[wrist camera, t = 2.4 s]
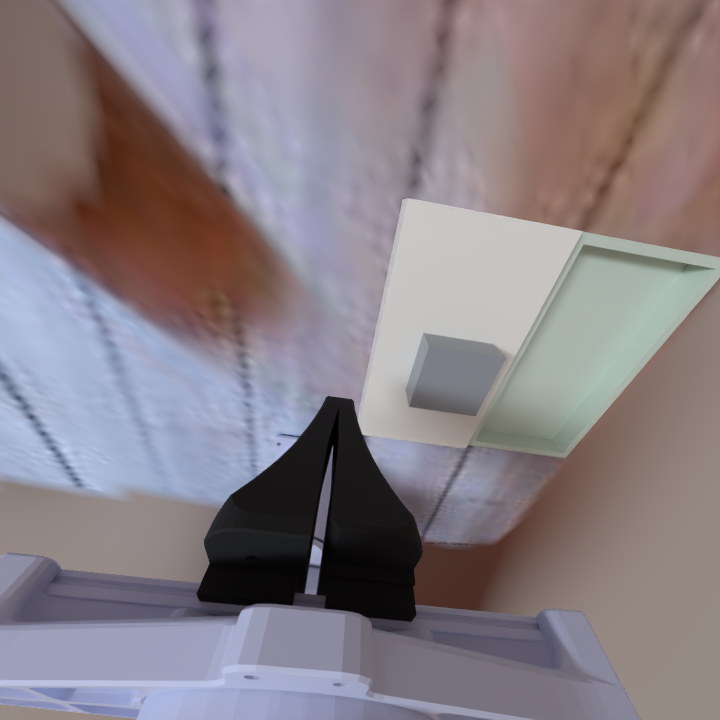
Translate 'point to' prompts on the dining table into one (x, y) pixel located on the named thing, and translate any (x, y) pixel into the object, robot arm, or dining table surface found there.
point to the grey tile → (452, 374)
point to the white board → (455, 306)
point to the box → (592, 341)
